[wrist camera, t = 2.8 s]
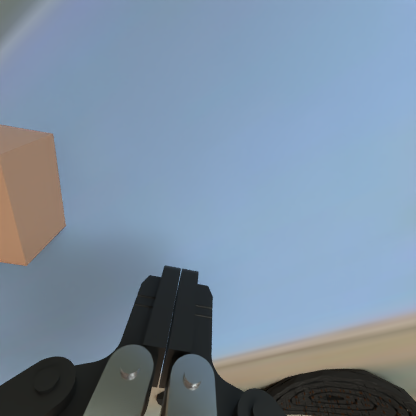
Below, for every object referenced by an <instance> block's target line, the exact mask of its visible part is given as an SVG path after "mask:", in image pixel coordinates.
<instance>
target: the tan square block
mask: <svg viewBox="0 0 416 416" xmlns="http://www.w3.org/2000/svg"><path fill="white" fill-rule="evenodd" d="M65 226H66V224H65V217H64V210H63V202H62V195H61V188H60V181H59V173H58V166H57V159H56V152H55V144H54V137H53V134H51V133H46V132H40V131H34V130H28V129H23V128H17V127H11V126H5V125H0V262H4V263H10V264H17V265H24V266H27V265H28V264H29V263H30V262H31V261H32V260H33V259H34V258H35V257H36V256H37V255H38V254H39V253H40V252H41V251H42V250H43V249H44V247H45V246H46V245H47V244H48V243H49V242H50V241H51V240H52V239H53V238H54V237H55V236H56V235H57V234H58V233H59V232H60V231H61V230H62V229H63V228H64V227H65Z"/></svg>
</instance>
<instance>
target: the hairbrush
mask: <svg viewBox="0 0 416 416" xmlns="http://www.w3.org/2000/svg"><path fill="white" fill-rule="evenodd" d="M336 370H340V371H336ZM291 378H292V379H291ZM289 379H290V380H289ZM286 380H288V381H287V382H285V383H283V382H284V381H286ZM266 392H267V393H268V394H270V395H271V396H272V397H273V398H274V400H275V401H276V402H277V403H278V405H279V406H280V407H281V409H282V410H283V411H284V413H285V414H286V415H297V414H301V416H302V415H311V416H416V402H415V401H414V399H413V398H412V397H411V396H410V395H409V394H408V393H407V392H406V391H405V390H404V389H402V388H400V387H398V386H396V385H394V384H392V383H390V382H388V381H386V380H383V379H381V378H379V377H377V376H375V375H373V374H371V373H369V372H367V371H362V370H352V369H330V370H329V369H327V370H320V371H316V372H311V373H306V374H299V375H295V376H291V377H287V378H285V379H283V380H282V381H280V382H279V383H277V384H276V385H274V386H273V387H271V388H270V389H268V390H267V391H266ZM163 397H164V391H163V392H161V394H158V396H157V402H158V404H159V405H161V406H162V403H163ZM407 410H408V411H407ZM299 416H300V415H299Z"/></svg>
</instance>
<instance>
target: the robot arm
mask: <svg viewBox="0 0 416 416" xmlns="http://www.w3.org/2000/svg"><path fill="white" fill-rule="evenodd" d="M180 271H181V268H176V267H171V266H164V269H163V273H162V277H156V276H151V275H150V276H149V277H148V278H147V279H146V280H145V281H144V282H143V283H142V284H141V287H140V289H139V292H138V295H137V298H136V300H135V303H134V306H133V309H132V312H131V314H130V317H129V320H128V323H127V325H126V328H125V331H124V334H123V337H122V339H121V342H120V344H119V345H118V347H117V348H116V349H115V351H114V352H113V353H111V354H110V355H109V356H107V357H106V358H104V359H102V360H99V361H96V362H92V363H86V364H81V365H75V366H74V365H73V363H72V362H71V361H70V360H68V359H66V358H64V357H50V358H46V359H44V360H41V361H39V362H38V363H36V364H34V365H33V366H31V367H29V368H28V369H26V370H25V371H23V372H21V373H20V374H18V375H17V376H15V377H13V378H12V379H10V380H9V381H7V382H5V383H4V384H2V385H1V386H0V416H144V414H145V412H146V410H147V406H148V402H149V397H150V393H151V388H152V387H157V386H158V381H159V377H160V373H161V368H162V364H163V369H162V374H161V379H160V385H159V388H165V391H164V397H163V403H162V408H161V411H160V416H287V415H286V414H285V413H284V411H283V410H282V409H281V407H280V406H279V405H278V403H277V402H276V401H275V400H274V398H273V397H272V396H271V395H270V394H268V393H267V392H265V391H263V390H261V389H255V388H254V389H249V390H247V391H245V392H243V391H241V390H240V389H238V388H236V387H234V386H233V385H231V384H229V383H227V382H226V381H224V380H223V379H222V378H221V377H220V376H219V375H218V373H217V372H216V370H215V368H214V366H213V363H212V357H211V349H212V300H213V296H212V294H211V292H210V289H209V287H208V286H205V285H200V284H197V283H198V271H192V270H187V269H182V272H181V276H180ZM179 276H180V281H179ZM178 282H179V285H178ZM177 287H178V290H177ZM176 292H177V294H176ZM175 298H176V299H175ZM174 303H175V304H174ZM173 308H174V309H173ZM172 314H173V315H172ZM171 319H172V320H171ZM169 330H170V331H169ZM168 335H169V336H168ZM167 341H168V342H167ZM166 346H167V347H166ZM165 351H166V352H165ZM164 355H165V358H164ZM163 360H164V363H163Z"/></svg>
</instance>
